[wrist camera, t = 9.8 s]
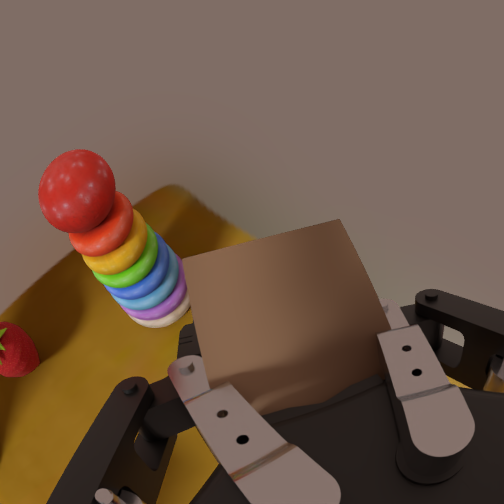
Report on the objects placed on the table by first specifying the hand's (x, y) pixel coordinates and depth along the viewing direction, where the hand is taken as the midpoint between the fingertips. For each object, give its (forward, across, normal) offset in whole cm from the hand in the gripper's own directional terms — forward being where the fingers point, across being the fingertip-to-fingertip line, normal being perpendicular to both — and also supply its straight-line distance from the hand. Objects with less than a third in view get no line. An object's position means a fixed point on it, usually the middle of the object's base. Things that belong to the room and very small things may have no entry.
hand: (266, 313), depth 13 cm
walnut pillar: (+2, 0, +5) cm, 5 cm away
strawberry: (+13, +26, +7) cm, 30 cm away
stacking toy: (+17, +9, +4) cm, 19 cm away
